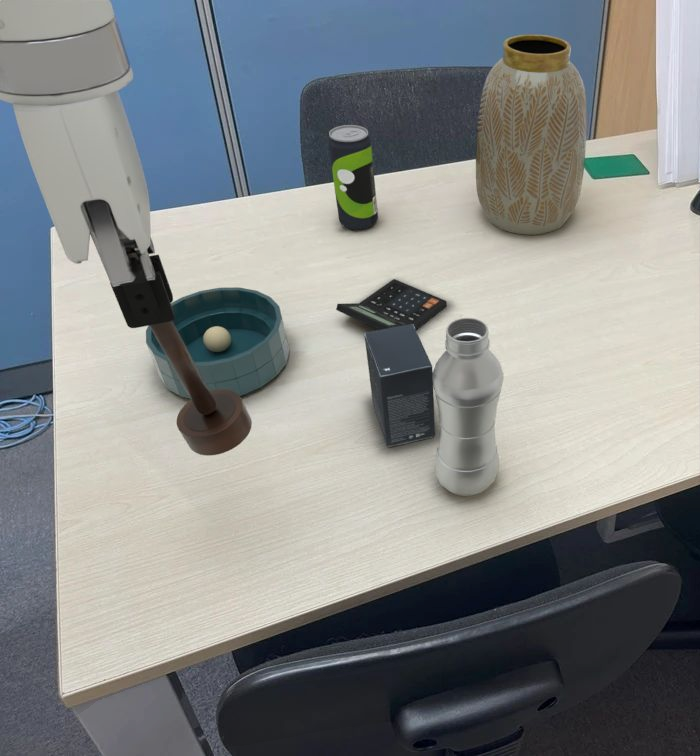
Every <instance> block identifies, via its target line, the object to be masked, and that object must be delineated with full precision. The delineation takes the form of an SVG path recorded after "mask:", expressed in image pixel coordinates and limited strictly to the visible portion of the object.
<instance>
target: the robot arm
mask: <svg viewBox="0 0 700 756" xmlns="http://www.w3.org/2000/svg"><path fill="white" fill-rule="evenodd" d="M133 79H134V71H133V69H132V66H131V63H130V59H129V56H128V53H127V50H126V45H125V42H124V40H123V37H122V33H121V30H120V27H119V24H118V21H117V18H116V16H115V11H114V7H113V4H112V2H111V0H0V101H2V102H5V103H8V104H9V103H10V104H12V108H13V112H14V116H15V119H16V123H17V127H18V130H19V133H20V138H21V140H22V143H23V146H24V149H25V151H26V155H27V157H28V160H29V163H30V166H31V169H32V172H33V174H34V177H35V179H36V182H37V186H38V188H39V191H40V193H41V195H42V197H43V200H44V203H45V206H46V208H47V211H48V214H49V216H50V218H51V221H52V223H53V227H54V229H55V232H56V234H57V236H58V239H59V241H60V244H61V247H62V250H63V251H64V254H65V256H66V258H67V259H68V261H70V262H72V263H74V264H75V265H78V264H79V265H80V264H81V263H83V262H86V261H88V260H89V253H90V241H91V239H92V242H93V244H94V247H95V249H96V252H97V254H98V256H99V258H100V260H101V264H102V266H103V268H104V271H105V273H106V275H107V278H108V280H109V285H110V287H111V289H112V291H113V295H114V296H115V299H116V302H117V304H118V307H119V309H120V311H121V314H122V316H123V319H124V320H125V323H126V326H127V327H128V328H129V329H138V328H143V327H148V326H149V325H154V324H160V323H165V322H170V321H172V320H173V319H174V312H173V309H172V306H171V303H172V302H174V296H173V292H172V289H171V287H170V283H169V281H168V277H167V275H166V272H165V268H164V265H163V263H162V259H161V256H160V255H159V254H156V249H155V245H154V242H153V238H152V235H151V234H152V233H151V230H152V229H151V205H150V204H151V203H150V194H149V188H148V184H147V179H146V176H145V171H144V168H143V164H142V160H141V157H140V153H139V150H138V147H137V144H136V141H135V137H134V134H133V131H132V129H131V125H130V122H129V119H128V116H127V113H126V111H125V106H124V104H123V101H122V98H121V94H120V92H119V91H120V90H121V89H123V88H125V87H127V85H128V84H130V83H132V81H133ZM130 253H136V254H137V256H138V258H139V260H138V259H137V258H136V257H131V258H128V256H127V254H130ZM153 254H154V255H153Z"/></svg>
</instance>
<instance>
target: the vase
mask: <svg viewBox="0 0 700 756" xmlns="http://www.w3.org/2000/svg"><path fill="white" fill-rule="evenodd" d="M571 51H572V45H571V44H570V42H568V41H567V40H564V39H563V38H560V37H556V36H552V35H546V34H545V35H544V34H519V35H514V36H511V37H507V38H506V39H505V40H504V41H503V43H502V57H501V58H500V59H499V60H497V61H496V62H495V64H494V65H493V66H492V68H491V69H490V71H489V72H488V74H487V76H486V78H485V81H484V84H483V87H482V92H481V96H480V103H479V109H478V116H477V126H476V139H475V140H476V143H475V187H476V196H477V198H478V199H477V200H478V202H479V204H480V206H481V208H482V210H483V212H484V214H485V216H486V218H487V220H488V221H489V222H490V223H491V224H492V225H494V226H495V227H497V228H499V229H500V230H502V231H506V232H508V233H513V234H517V235H526V236H527V235H528V236H529V235H531V236H532V235H542V234H548V233H551V232H553V231H556V230H558V229H559V228H561V227H562V226H563V225H565V223H566V222H567V221H568V219H570V216H571V215H572V213H574V211H575V209H576V207H577V205H578V202H579V200H580V196H581V191H582V186H583V180H584V172H585V161H586V151H587V150H586V149H587V128H588V117H587V116H588V115H587V113H588V112H587V111H588V110H587V95H586V88H585V84H584V81H583V79H582V78H583V77H582V76H581V73H580V72H579V70H578V68H577V67H576V66H575V64H573V62H572V61H570V59H571Z"/></svg>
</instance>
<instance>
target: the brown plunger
mask: <svg viewBox="0 0 700 756" xmlns="http://www.w3.org/2000/svg"><path fill="white" fill-rule="evenodd" d="M127 256H128V258H131V257H136V258H137V259H138V260H139V258H138V256H137V254H136V253H130V254H127ZM149 326H150V328H151V330H152V331H153V333H154V335H155V337H156V338H157V340H158V342H159V344H160V346H161V347H162V349H163V351H164V353H165V354H166V356H167V358H168V360H169V361H170V363H171V365H172V367H173V369H174V370H175V372H176V374H177V376H178V377H179V379H180V381H181V383H182V384H183V386H184V388H185V390H186V392H187V393H188V395H189V397H190V398H189V401H187V402H186V403H185V404H184V405H183V406H182V407H181V408H180V410H179V412H178V414H177V417H176V427H177V429H178V431H179V433H180V434H181V436H182V437H183V439H184V441H185V442H186V444H187V446H188V448H189V449H190V450H191V451H192V452H194V453H195V454H198V455H200V456H208V457H209V456H217V455H218V456H219V455H221V454H225V453H227V452H229V451H232V450H233V449H235V448H237V447H238V446H239V445H241V444H242V443H243V442H244V441H245V440H246V439H247V437H248V436H249V434H250V433H251V429H252V425H253V422H252V417H251V415H250V413H249V411H248V410H247V407H246V405H245V403H244V401H243V399H242V397H241V396H239V395H238V394H237V393H235V392H233V391H230V390H225V389H218V390H212V391H209V389H208V387H207V385H206V383H205V381H204V380H203V378H202V376H201V374H200V372H199V370H198V368H197V366H196V365H195V363H194V361H193V359H192V357H191V355H190V353H189V351H188V350H187V348H186V346H185V344H184V342H183V340H182V338H181V336H180V334H179V333H178V331H177V329H176V327H175V325H174V323H173V321H170V322H165V323H160V324H154V325H149Z"/></svg>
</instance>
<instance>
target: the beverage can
mask: <svg viewBox="0 0 700 756" xmlns="http://www.w3.org/2000/svg"><path fill="white" fill-rule="evenodd" d="M328 136H329V137H328V138H327V139H328V140H327V144H328V151H329V157H330V164H331V172H332V178H333V180H332V181H333V186H334V194H335V201H336V208H337V215H338V221H339V223H340V225H341V226H343V227H344V228H345V229H347V230H349V231H354V232H361V231H366V230H369V229H372V228H373V227H374V226H375V225H376V224H377V222H378V220H379V214H378V213H379V212H378V211H379V210H378V203H377V202H378V201H377V192H376V191H377V190H376V181H375V171H374V159H373V151H372V140H371V137H370V136H369V131H368V129H367V128H366V127H363V126H361V125H356V124H346V125H345V124H344V125H339V126H335V127H333V128H332V129H330V130H329V132H328Z"/></svg>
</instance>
